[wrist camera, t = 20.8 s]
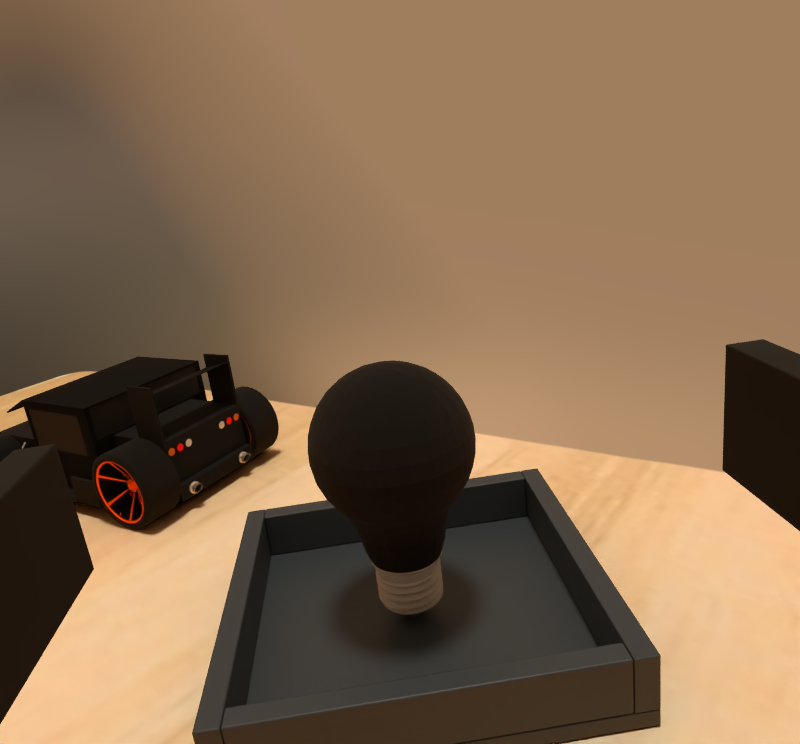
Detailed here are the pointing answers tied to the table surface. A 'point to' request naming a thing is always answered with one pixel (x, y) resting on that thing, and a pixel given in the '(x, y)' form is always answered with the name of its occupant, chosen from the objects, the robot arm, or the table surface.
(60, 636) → the table surface
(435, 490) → the light bulb
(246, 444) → the toy truck
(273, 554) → the slate tray
